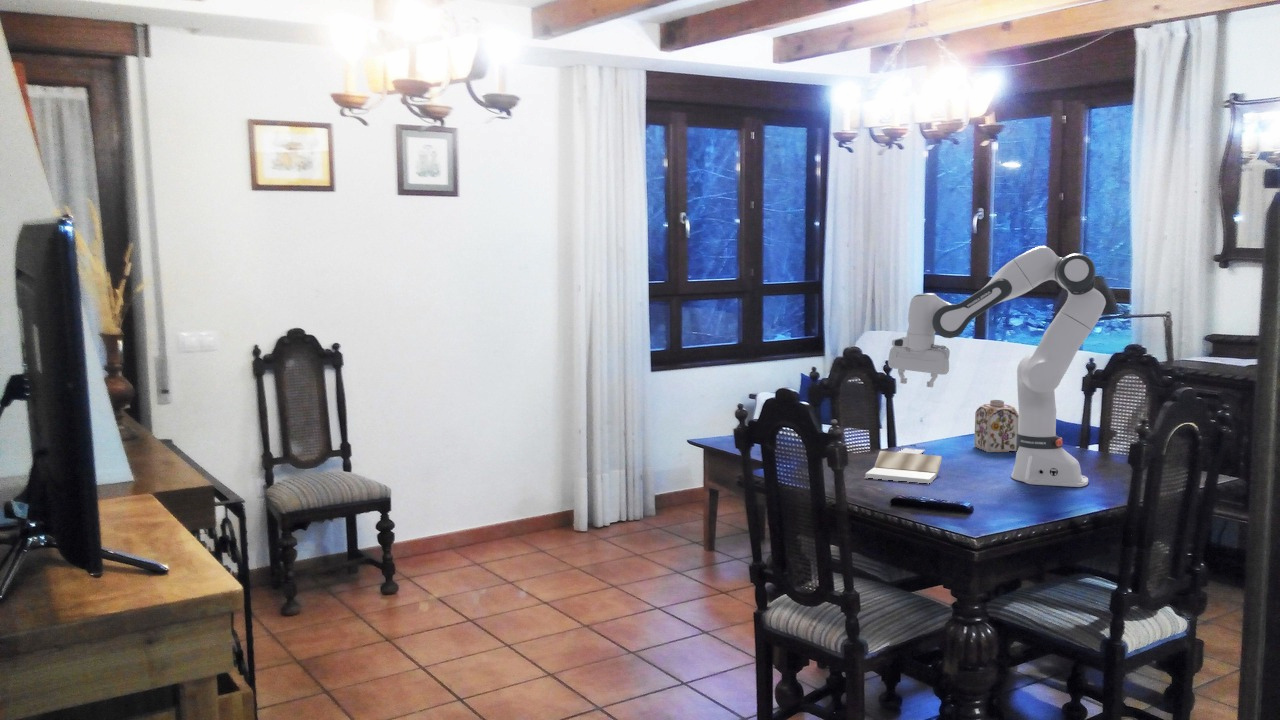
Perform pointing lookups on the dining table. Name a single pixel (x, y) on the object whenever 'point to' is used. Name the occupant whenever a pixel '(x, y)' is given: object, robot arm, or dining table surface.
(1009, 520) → the dining table surface
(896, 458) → the birch plank
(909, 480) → the white board
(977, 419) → the decorative jar
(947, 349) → the robot arm
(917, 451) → the baseboard
